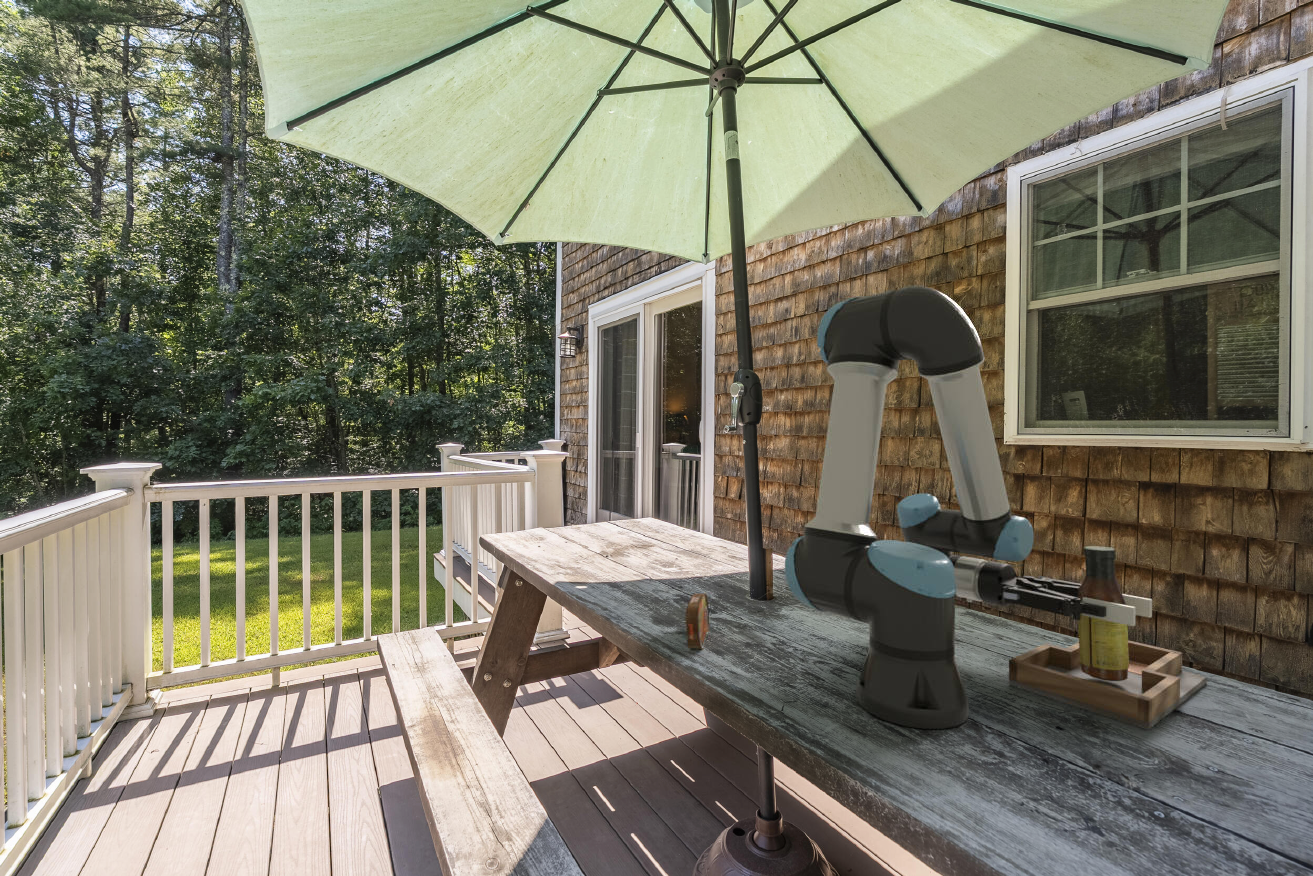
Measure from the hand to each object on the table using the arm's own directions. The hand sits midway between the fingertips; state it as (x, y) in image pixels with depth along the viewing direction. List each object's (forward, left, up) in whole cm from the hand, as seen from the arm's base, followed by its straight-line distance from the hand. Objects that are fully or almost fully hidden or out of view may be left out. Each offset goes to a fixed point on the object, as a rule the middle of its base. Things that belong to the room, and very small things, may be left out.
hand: (1142, 612), depth 91 cm
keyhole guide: (+3, +5, -13) cm, 14 cm away
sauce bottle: (0, +5, -11) cm, 12 cm away
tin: (-37, +59, -13) cm, 71 cm away
